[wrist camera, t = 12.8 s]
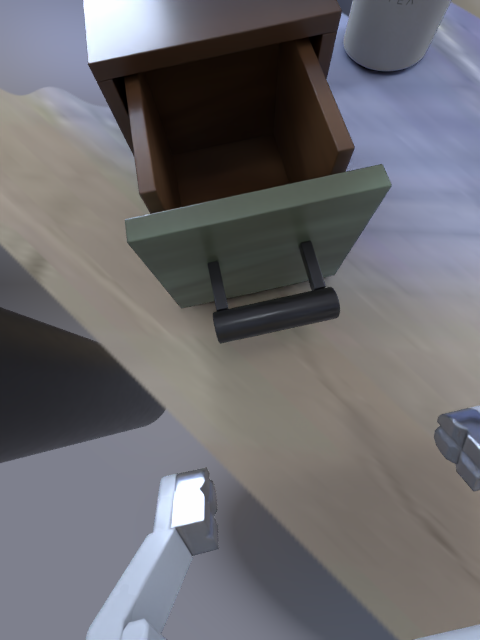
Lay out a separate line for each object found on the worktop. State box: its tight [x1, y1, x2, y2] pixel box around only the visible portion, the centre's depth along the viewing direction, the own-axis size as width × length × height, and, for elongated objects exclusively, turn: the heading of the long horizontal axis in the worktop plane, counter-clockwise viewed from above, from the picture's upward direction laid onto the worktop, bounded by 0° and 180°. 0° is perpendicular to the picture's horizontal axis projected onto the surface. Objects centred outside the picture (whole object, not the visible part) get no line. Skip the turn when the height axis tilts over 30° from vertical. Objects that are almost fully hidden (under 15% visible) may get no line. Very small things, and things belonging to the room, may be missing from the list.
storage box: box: [83, 0, 342, 155], centre depth 20 cm, size 15×13×11 cm
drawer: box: [124, 37, 392, 344], centre depth 17 cm, size 18×11×9 cm, turn 12°
